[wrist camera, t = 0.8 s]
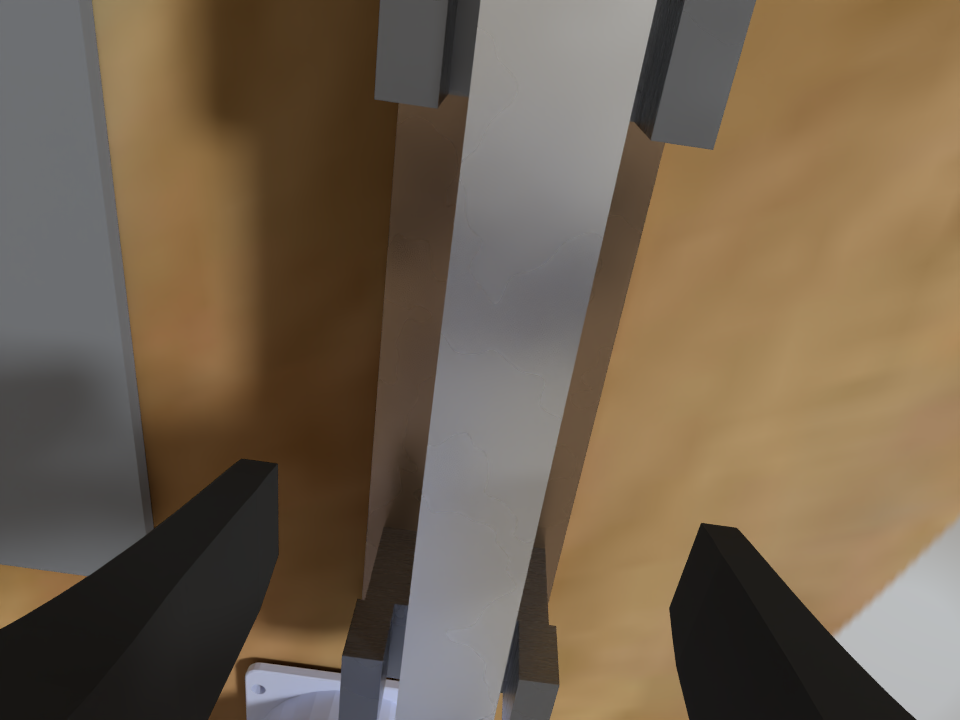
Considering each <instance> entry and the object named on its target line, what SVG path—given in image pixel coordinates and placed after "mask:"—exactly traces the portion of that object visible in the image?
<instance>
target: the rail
mask: <svg viewBox="0 0 960 720" xmlns="http://www.w3.org/2000/svg"><path fill="white" fill-rule="evenodd" d="M656 3H657V0H481V1H480V9H479V18H478V26H477V35H476V43H475V51H474V60H473V68H472V77H471V85H470V93H469V102H468V110H467V119H466V127H465V135H464V144H463V152H462V160H461V169H460V177H459V186H458V194H457V202H456V211H455V219H454V228H453V236H452V244H451V253H450V261H449V270H448V278H447V286H446V295H445V303H444V311H443V320H442V328H441V337H440V345H439V353H438V362H437V370H436V379H435V387H434V395H433V404H432V412H431V421H430V429H429V437H428V446H427V454H426V462H425V471H424V479H423V488H422V496H421V504H420V513H419V521H418V530H417V538H416V546H415V555H414V563H413V571H412V580H411V588H410V597H409V605H408V613H407V622H406V630H405V639H404V647H403V655H402V664H401V672H400V681H399V689H398V697H397V706H396V714H395V720H494V717H495V713H496V708H497V704H498V699H499V695H500V691H501V686H502V682H503V677H504V673H505V668H506V664H507V660H508V655H509V651H510V646H511V642H512V638H513V633H514V629H515V624H516V620H517V616H518V611H519V607H520V602H521V598H522V593H523V589H524V585H525V580H526V576H527V571H528V567H529V563H530V558H531V554H532V549H533V545H534V541H535V536H536V532H537V527H538V523H539V519H540V514H541V510H542V505H543V501H544V496H545V492H546V488H547V483H548V479H549V474H550V470H551V466H552V461H553V457H554V452H555V448H556V444H557V439H558V435H559V430H560V426H561V422H562V417H563V413H564V408H565V404H566V399H567V395H568V391H569V386H570V382H571V377H572V373H573V369H574V364H575V360H576V355H577V351H578V347H579V342H580V338H581V333H582V329H583V325H584V320H585V316H586V311H587V307H588V302H589V298H590V294H591V289H592V285H593V280H594V276H595V272H596V267H597V263H598V258H599V254H600V250H601V245H602V241H603V236H604V232H605V227H606V223H607V219H608V214H609V210H610V205H611V201H612V197H613V192H614V188H615V183H616V179H617V175H618V170H619V166H620V161H621V157H622V153H623V148H624V144H625V139H626V135H627V130H628V126H629V122H630V117H631V113H632V108H633V104H634V100H635V95H636V91H637V86H638V82H639V78H640V73H641V69H642V64H643V60H644V56H645V51H646V47H647V42H648V38H649V33H650V29H651V25H652V20H653V16H654V11H655V7H656Z"/></svg>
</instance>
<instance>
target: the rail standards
mask: <svg viewBox="0 0 960 720" xmlns="http://www.w3.org/2000/svg"><path fill="white" fill-rule="evenodd" d="M480 1H481V0H380V10H379V28H378V45H377V62H376V79H375V97H374V99H376V100H382V101H389V102H396V103H399V104H398V117H397V131H396V144H395V158H394V171H393V185H392V198H391V212H390V226H389V239H388V253H387V266H386V280H385V293H384V307H383V320H382V334H381V347H380V361H379V375H378V388H377V402H376V415H375V429H374V442H373V456H372V469H371V483H370V496H369V510H368V524H367V537H366V551H365V564H364V578H363V591H362V600H361V599H357V602H356V606H355V610H354V613H353V617H352V621H351V625H350V628H349V632H348V636H347V639H346V643H345V647H344V651H343V654H342V666H341V683H340V701H339V718H338V720H378V719H379V714H380V709H381V703H382V698H383V693H384V688H385V683H386V678H387V677H388V678H395V679H400V672H401V664H402V655H403V647H404V639H405V630H406V622H407V613H408V605H409V597H410V588H411V580H412V571H413V563H414V555H415V546H416V538H417V530H418V521H419V513H420V504H421V496H422V488H423V479H424V471H425V462H426V454H427V446H428V437H429V429H430V421H431V412H432V404H433V395H434V387H435V379H436V370H437V362H438V353H439V345H440V337H441V328H442V320H443V311H444V303H445V295H446V286H447V278H448V270H449V261H450V253H451V244H452V236H453V228H454V219H455V211H456V202H457V194H458V186H459V177H460V169H461V160H462V152H463V144H464V135H465V127H466V119H467V110H468V102H469V93H470V85H471V77H472V68H473V60H474V51H475V43H476V35H477V26H478V18H479V9H480ZM755 2H756V0H657V3H656V7H655V11H654V16H653V20H652V25H651V29H650V33H649V38H648V42H647V47H646V51H645V56H644V60H643V64H642V69H641V73H640V78H639V82H638V86H637V91H636V95H635V100H634V104H633V108H632V113H631V117H630V122H629V126H628V130H627V135H626V139H625V144H624V148H623V153H622V157H621V161H620V166H619V170H618V175H617V179H616V183H615V188H614V192H613V197H612V201H611V205H610V210H609V214H608V219H607V223H606V227H605V232H604V236H603V241H602V245H601V250H600V254H599V258H598V263H597V267H596V272H595V276H594V280H593V285H592V289H591V294H590V298H589V302H588V307H587V311H586V316H585V320H584V325H583V329H582V333H581V338H580V342H579V347H578V351H577V355H576V360H575V364H574V369H573V373H572V377H571V382H570V386H569V391H568V395H567V399H566V404H565V408H564V413H563V417H562V422H561V426H560V430H559V435H558V439H557V444H556V448H555V452H554V457H553V461H552V466H551V470H550V474H549V479H548V483H547V488H546V492H545V496H544V501H543V505H542V510H541V514H540V519H539V523H538V527H537V532H536V536H535V541H534V545H533V549H532V554H531V558H530V563H529V567H528V571H527V576H526V580H525V585H524V589H523V593H522V598H521V602H520V607H519V611H518V616H517V620H516V624H515V629H514V633H513V638H512V642H511V646H510V651H509V655H508V660H507V664H506V668H505V673H504V677H503V682H502V686H501V691H500V693H503V708H502V720H549V719H550V716H551V713H552V709H553V706H554V702H555V699H556V695H557V692H558V688H559V669H558V652H557V634H556V626H552V625H549V620H548V602H549V598H550V594H551V590H552V586H553V582H554V578H555V574H556V570H557V566H558V562H559V558H560V554H561V550H562V546H563V543H564V539H565V535H566V531H567V527H568V523H569V519H570V515H571V511H572V507H573V503H574V499H575V495H576V491H577V487H578V483H579V479H580V476H581V472H582V468H583V464H584V460H585V456H586V452H587V448H588V444H589V440H590V436H591V432H592V428H593V424H594V420H595V416H596V412H597V408H598V405H599V401H600V397H601V393H602V389H603V385H604V381H605V377H606V373H607V369H608V365H609V361H610V357H611V353H612V349H613V345H614V341H615V337H616V334H617V330H618V326H619V322H620V318H621V314H622V310H623V306H624V302H625V298H626V294H627V290H628V286H629V282H630V278H631V274H632V270H633V267H634V263H635V259H636V255H637V251H638V247H639V243H640V239H641V235H642V231H643V227H644V223H645V219H646V215H647V211H648V207H649V203H650V199H651V196H652V192H653V188H654V184H655V180H656V176H657V172H658V168H659V164H660V160H661V156H662V152H663V148H664V144H665V143H671V144H677V145H684V146H691V147H698V148H704V149H711V150H713V148H714V145H715V141H716V138H717V134H718V131H719V127H720V124H721V120H722V117H723V113H724V110H725V106H726V103H727V100H728V96H729V93H730V89H731V86H732V82H733V79H734V75H735V72H736V68H737V65H738V61H739V58H740V54H741V51H742V47H743V44H744V40H745V37H746V33H747V30H748V26H749V23H750V19H751V16H752V12H753V9H754V5H755Z"/></svg>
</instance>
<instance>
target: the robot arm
mask: <svg viewBox="0 0 960 720" xmlns="http://www.w3.org/2000/svg"><path fill="white" fill-rule="evenodd" d="M278 555H279V548H278V464H276V463H269V462H262V461H255V460H248V459H241V460H239V461H238V462H236V463H235V464H234V465H233V466H231V467H230V468H229V469H228V470H226V471H225V472H224V473H223V474H221V475H220V476H219V477H218V478H217V479H215V480H214V481H213V482H212V483H211V484H209V485H208V486H207V487H206V488H205V489H203V490H202V491H201V492H200V493H199V494H197V495H196V496H195V497H194V498H192V499H191V500H190V501H189V502H187V503H186V504H185V505H184V506H182V507H181V508H180V509H179V510H177V511H176V512H175V513H174V514H172V515H171V516H170V517H168V518H167V519H166V520H165V521H163V522H162V523H161V524H159V525H158V526H157V527H156V528H154V529H153V530H152V531H150V532H149V533H148V534H146V535H145V536H144V537H143V538H141V539H140V540H139V541H137V542H136V543H134V544H133V545H132V546H130V547H129V548H127V549H126V550H125V551H123V552H122V553H120V554H119V555H117V556H116V557H115V558H113V559H112V560H110V561H109V562H108V563H106V564H105V565H103V566H102V567H100V568H99V569H98V570H96V571H95V572H93V573H92V574H90V575H89V576H87V577H86V578H85V579H83V580H81V581H80V582H78V583H77V584H75V585H74V586H72V587H71V588H69V589H68V590H66V591H64V592H63V593H61V594H60V595H58V596H57V597H55V598H53V599H52V600H50V601H48V602H47V603H45V604H43V605H42V606H40V607H38V608H37V609H35V610H33V611H32V612H30V613H28V614H27V615H25V616H23V617H22V618H20V619H18V620H16V621H14V622H13V623H11V624H9V625H7V626H5V627H3V628H2V629H0V720H208V718H209V716H210V714H211V712H212V710H213V708H214V706H215V704H216V702H217V700H218V697H219V695H220V693H221V691H222V689H223V687H224V685H225V683H226V681H227V679H228V677H229V674H230V672H231V670H232V668H233V666H234V664H235V662H236V660H237V658H238V656H239V654H240V651H241V649H242V647H243V645H244V643H245V641H246V639H247V637H248V634H249V632H250V630H251V628H252V626H253V624H254V622H255V619H256V617H257V615H258V613H259V611H260V608H261V605H262V602H263V600H264V597H265V594H266V591H267V588H268V585H269V582H270V579H271V576H272V573H273V570H274V567H275V564H276V561H277V558H278ZM669 610H670V619H671V628H672V638H673V645H674V653H675V660H676V667H677V671H678V676H679V680H680V684H681V688H682V692H683V696H684V700H685V704H686V708H687V712H688V716H689V720H916V719H915V718H914V717H913V716H912V715H911V714H910V713H908V712H907V711H906V710H905V709H904V708H903V707H902V706H901V705H900V704H899V703H898V702H897V701H896V700H895V699H893V698H892V697H891V696H890V695H889V694H888V693H887V692H886V691H885V690H884V689H883V688H882V687H881V686H880V685H879V684H878V683H877V682H876V681H875V680H874V679H873V678H872V677H871V676H870V675H869V674H868V673H867V672H866V671H865V670H864V669H863V668H862V667H861V666H860V665H859V664H858V663H857V662H856V661H855V660H854V658H853V657H851V655H850V654H849V653H848V652H847V651H846V650H845V649H844V648H843V647H842V646H841V645H840V644H839V643H838V642H837V641H836V640H835V638H834V637H833V636H832V635H831V634H830V633H829V632H828V631H827V630H826V629H825V628H824V627H823V625H822V624H821V623H820V622H819V621H818V620H817V619H816V618H815V617H814V615H813V614H812V613H811V612H810V611H809V610H808V609H807V608H806V607H805V605H804V604H803V603H802V602H801V601H800V600H799V599H798V597H797V596H796V595H795V594H794V593H793V592H792V591H791V589H790V588H789V587H788V586H787V585H786V584H785V582H784V581H783V580H782V579H781V578H780V577H779V575H778V574H777V573H776V572H775V571H774V570H773V569H772V567H771V566H770V565H769V564H768V563H767V562H766V560H765V559H764V558H763V557H762V556H761V555H760V553H759V552H758V551H757V550H756V549H755V548H754V546H753V545H752V544H751V543H750V542H749V541H748V540H747V539H746V537H745V536H744V535H743V534H742V533H741V532H740V531H739V530H738V529H737V528H734V527H727V526H720V525H712V524H705V523H701V525H700V528H699V530H698V533H697V536H696V538H695V541H694V544H693V546H692V549H691V552H690V554H689V557H688V560H687V562H686V565H685V568H684V570H683V573H682V576H681V578H680V581H679V584H678V586H677V589H676V592H675V594H674V597H673V600H672V602H671V605H670V608H669ZM340 683H341V673H336V672H329V671H321V670H314V669H307V668H299V667H292V666H284V665H277V664H269V663H262V662H257V663H254V664H251V665H250V666H249V667H248V670H247V672H246V675H245V692H246V716H247V720H338V718H339V701H340ZM398 689H399V681H396V680H388V679H386V683H385V688H384V693H383V698H382V703H381V709H380V714H379V719H378V720H395V714H396V706H397V697H398Z"/></svg>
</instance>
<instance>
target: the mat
mask: <svg viewBox="0 0 960 720" xmlns="http://www.w3.org/2000/svg"><path fill="white" fill-rule="evenodd" d="M153 529H154V525H153V516H152V508H151V499H150V491H149V483H148V474H147V466H146V457H145V449H144V440H143V432H142V423H141V415H140V406H139V398H138V389H137V381H136V372H135V364H134V355H133V347H132V338H131V330H130V321H129V313H128V304H127V296H126V287H125V279H124V271H123V262H122V254H121V245H120V237H119V228H118V220H117V211H116V203H115V194H114V186H113V177H112V169H111V160H110V152H109V143H108V135H107V126H106V118H105V109H104V101H103V92H102V84H101V75H100V67H99V59H98V50H97V42H96V33H95V25H94V16H93V8H92V0H0V564H2V565H10V566H17V567H24V568H32V569H39V570H46V571H54V572H61V573H68V574H76V575H83V576H89V575H90V574H92V573H93V572H95V571H96V570H98V569H99V568H100V567H102V566H103V565H105V564H106V563H108V562H109V561H110V560H112V559H113V558H115V557H116V556H117V555H119V554H120V553H122V552H123V551H125V550H126V549H127V548H129V547H130V546H132V545H133V544H134V543H136V542H137V541H139V540H140V539H141V538H143V537H144V536H145V535H146V534H148V533H149V532H150V531H152V530H153Z"/></svg>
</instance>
